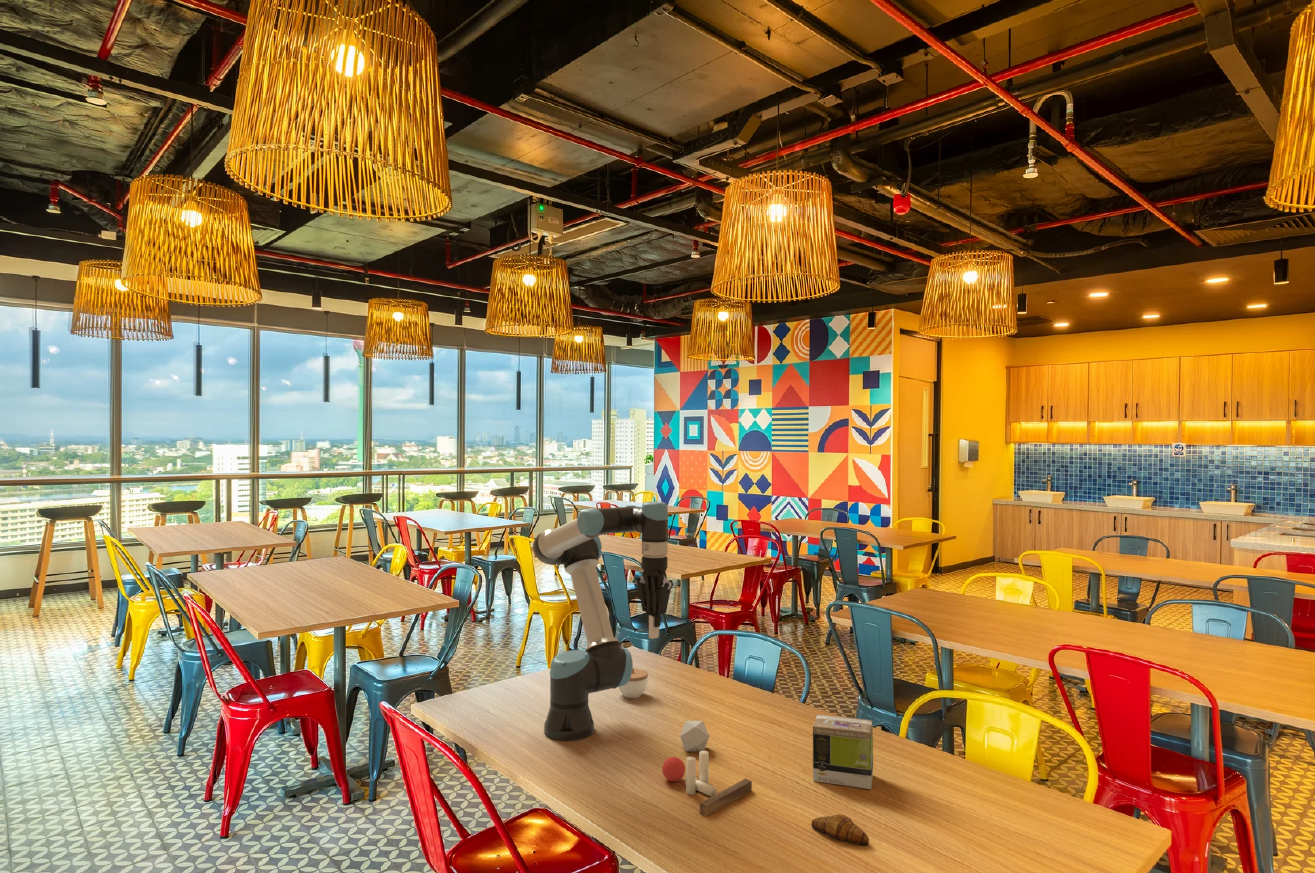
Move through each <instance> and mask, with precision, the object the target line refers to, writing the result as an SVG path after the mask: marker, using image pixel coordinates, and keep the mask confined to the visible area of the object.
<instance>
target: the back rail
mask: <svg viewBox="0 0 1315 873" xmlns="http://www.w3.org/2000/svg"><path fill="white" fill-rule="evenodd" d="M752 782H753V781H752V780H751V779H747V778H744V779H742V780H739V781H738V782H736V783H734V784H732V785H731V786H729V787H727V788H725V789H723V790H721V791H720V792H718V793H716V794H715V795H714V796H712V797H711V796H709V797H708V798H707V799H705V800H702V802H700V803H699V814H700V815H702V816H704V817H708V816H710V815H712V814H713V813H715V812H717V811H719V810H720V809H722V808H723V807H726V806H727V805H729V804H731V803H733V802H734V801H736V800H738V799H740V798H742V797H743V796H745V795H747V794H749V793H750V792H752V789H753V788H752V787H753V785H752Z"/></svg>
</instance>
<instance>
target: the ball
mask: <svg viewBox="0 0 1315 873" xmlns="http://www.w3.org/2000/svg"><path fill="white" fill-rule="evenodd" d="M684 763H685V762H683V759H682V758H680V757H677V756H670V757H668V758H666V759H665V760H664V762H663V763H662V769H661V771H662V775H663V776H664V777H665V779H666V780H668V781H669V782H679V781H681V779H682V778H683V777H684V775H685V774H686V767H685V764H684Z"/></svg>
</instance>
